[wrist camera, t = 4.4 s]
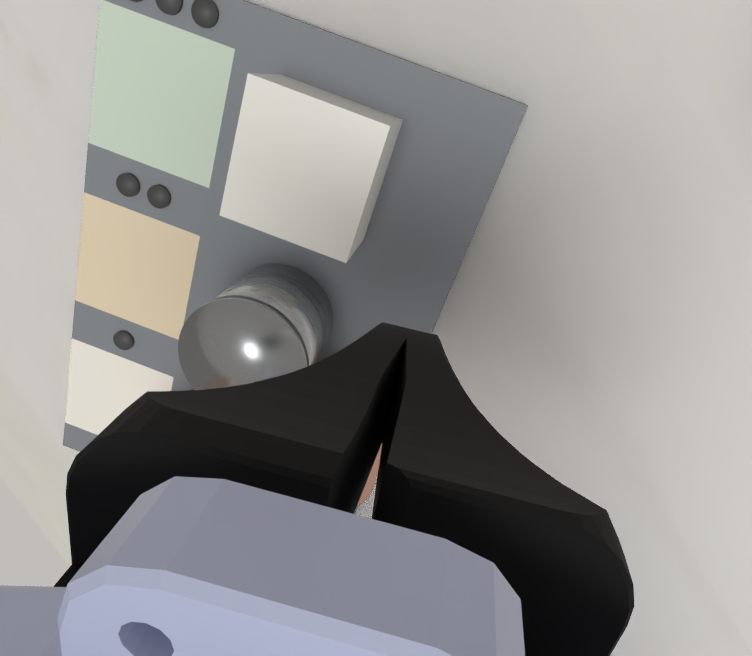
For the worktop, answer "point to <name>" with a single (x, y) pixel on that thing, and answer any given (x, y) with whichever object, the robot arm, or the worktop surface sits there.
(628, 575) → the robot arm
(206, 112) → the board
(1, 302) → the worktop surface
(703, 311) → the worktop surface
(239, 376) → the tin
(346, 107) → the white block
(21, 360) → the worktop surface
